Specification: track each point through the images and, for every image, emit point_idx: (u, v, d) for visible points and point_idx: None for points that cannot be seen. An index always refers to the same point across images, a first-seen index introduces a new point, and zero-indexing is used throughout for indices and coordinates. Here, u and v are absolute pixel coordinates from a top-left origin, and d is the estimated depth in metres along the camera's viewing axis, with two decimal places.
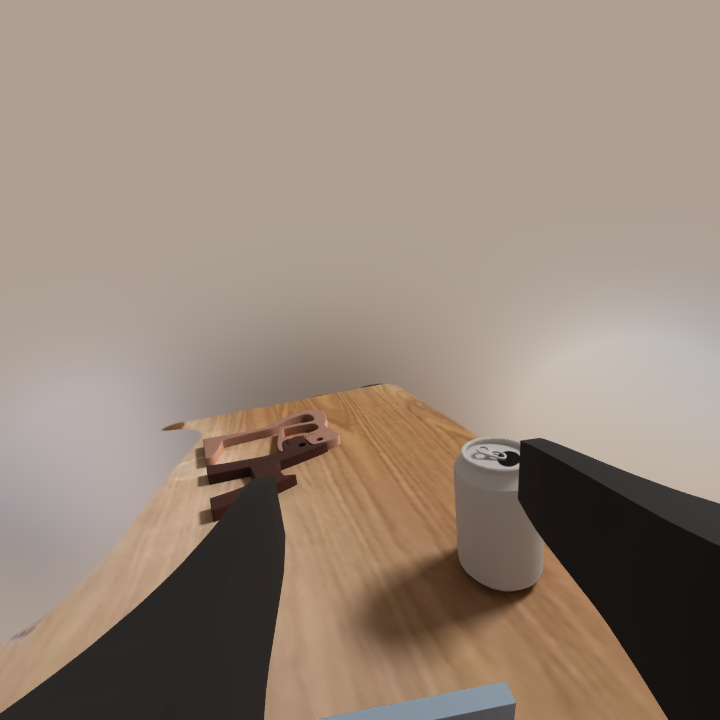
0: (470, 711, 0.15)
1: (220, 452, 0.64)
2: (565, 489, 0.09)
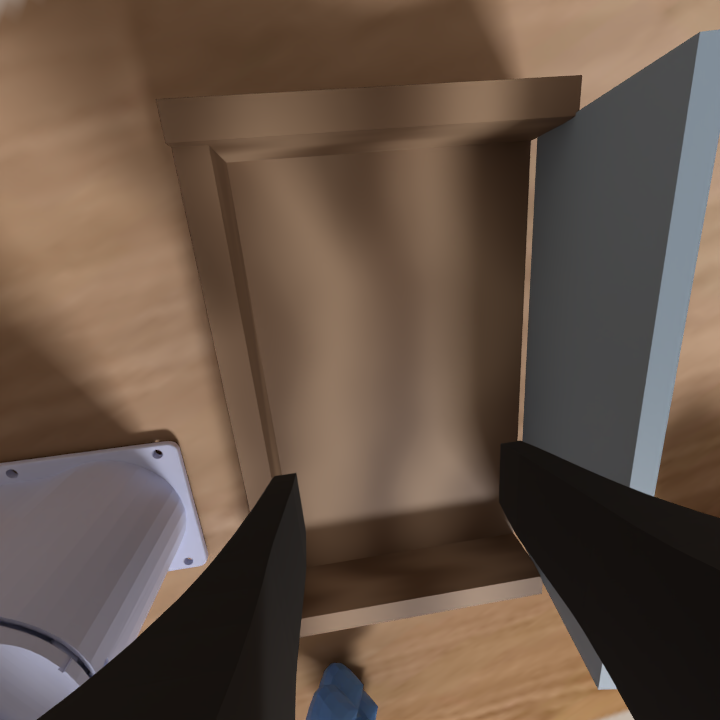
0: None
1: None
2: (541, 493, 0.09)
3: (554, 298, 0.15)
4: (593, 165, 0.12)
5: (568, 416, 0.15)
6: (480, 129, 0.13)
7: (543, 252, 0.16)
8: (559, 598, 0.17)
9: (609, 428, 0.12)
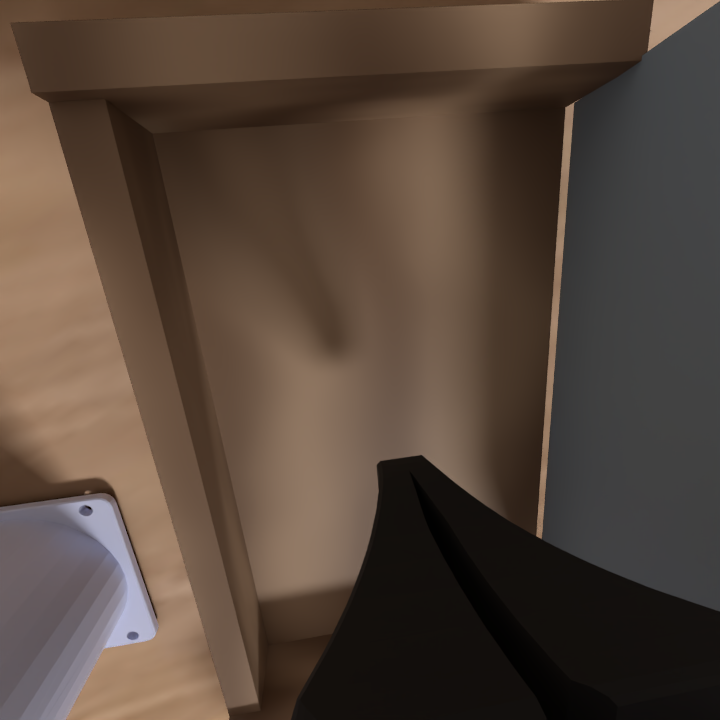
0: None
1: None
2: (422, 511, 0.08)
3: (598, 318, 0.11)
4: (674, 129, 0.08)
5: (619, 479, 0.11)
6: (502, 82, 0.09)
7: (582, 256, 0.12)
8: None
9: (695, 517, 0.08)
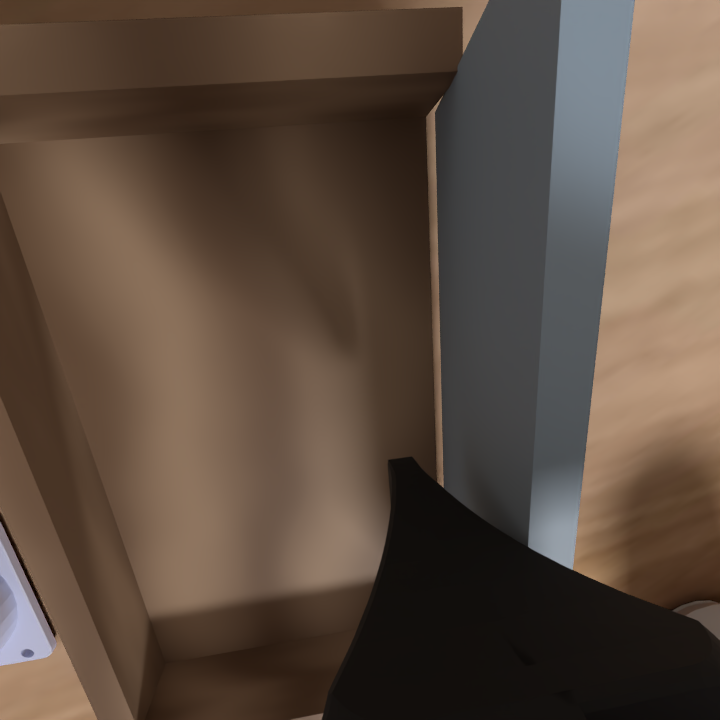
0: None
1: None
2: None
3: (454, 335, 0.11)
4: (473, 144, 0.08)
5: (470, 502, 0.10)
6: (324, 93, 0.09)
7: (445, 270, 0.11)
8: None
9: None
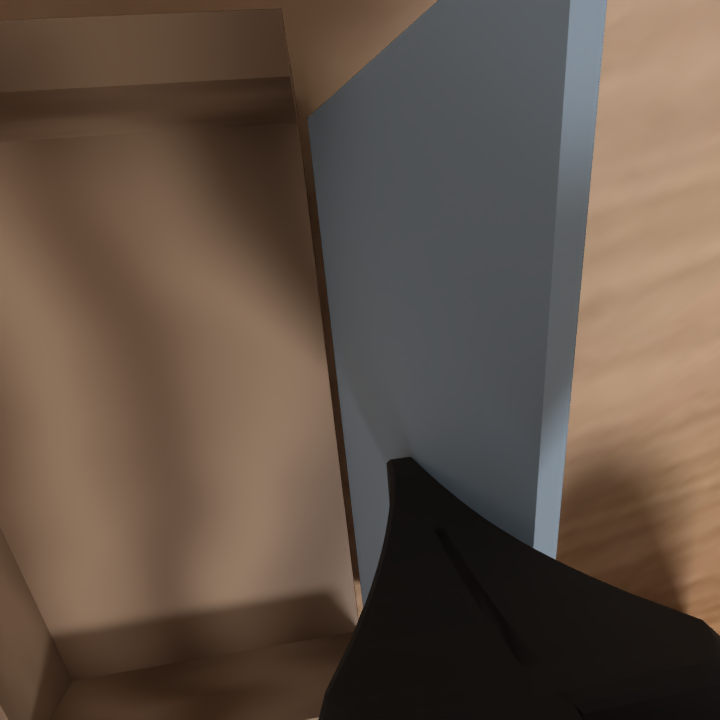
0: None
1: None
2: None
3: (368, 344, 0.11)
4: (398, 151, 0.08)
5: None
6: (155, 100, 0.08)
7: (342, 280, 0.11)
8: None
9: None
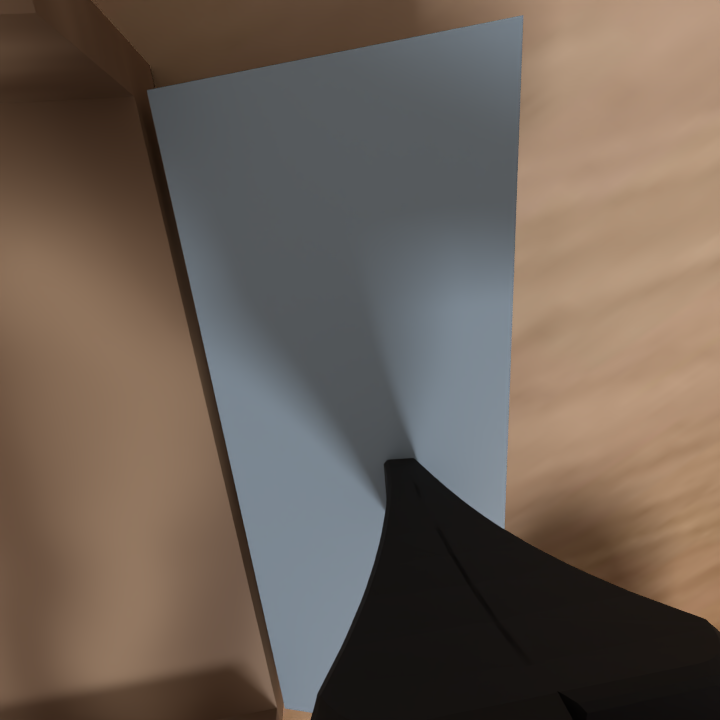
0: None
1: None
2: None
3: (290, 361, 0.10)
4: (343, 158, 0.08)
5: (370, 506, 0.11)
6: None
7: (235, 296, 0.09)
8: None
9: (458, 486, 0.10)
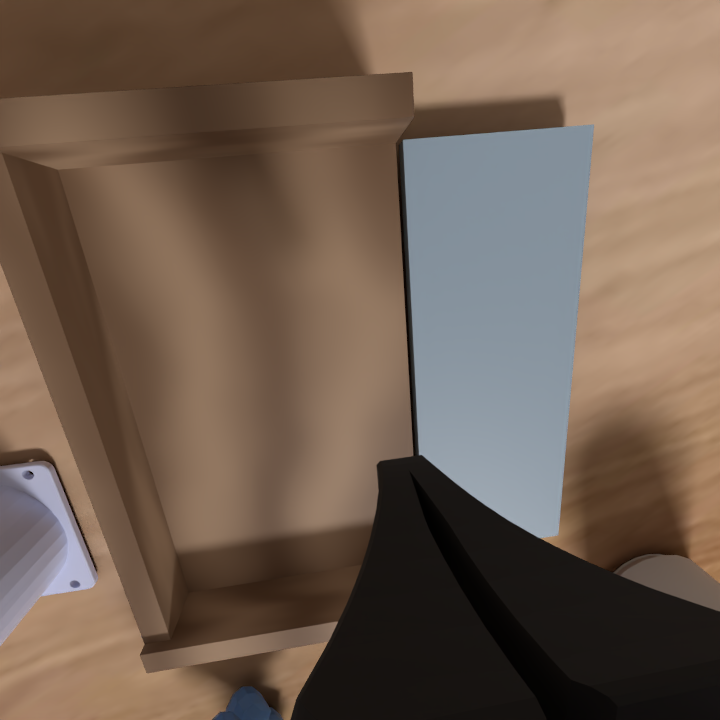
0: (559, 506, 0.21)
1: None
2: (422, 512, 0.08)
3: (463, 298, 0.16)
4: (507, 183, 0.15)
5: (500, 386, 0.18)
6: (314, 132, 0.12)
7: (436, 259, 0.16)
8: None
9: (549, 365, 0.18)
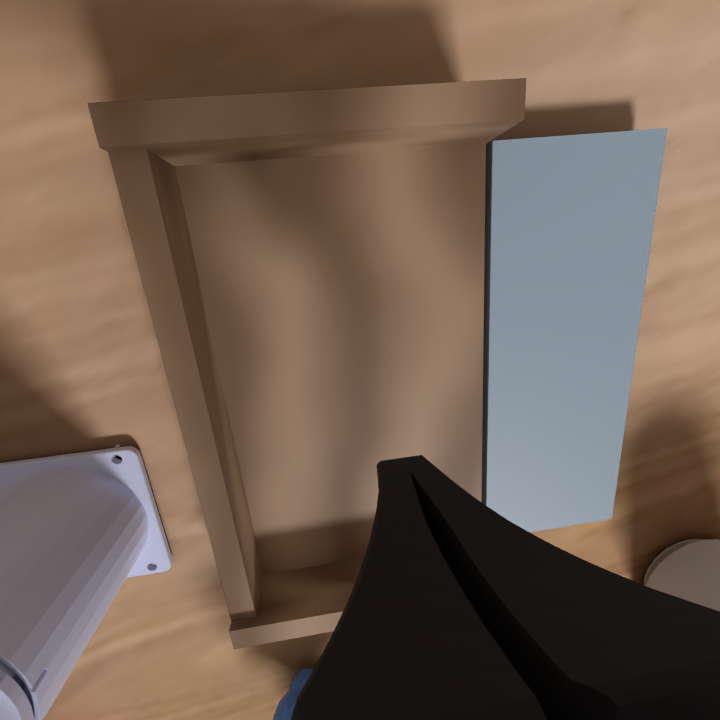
0: (614, 491, 0.22)
1: None
2: (422, 512, 0.08)
3: (538, 290, 0.17)
4: (585, 182, 0.16)
5: (566, 374, 0.19)
6: (427, 133, 0.13)
7: (516, 253, 0.17)
8: (563, 516, 0.22)
9: (613, 354, 0.19)
